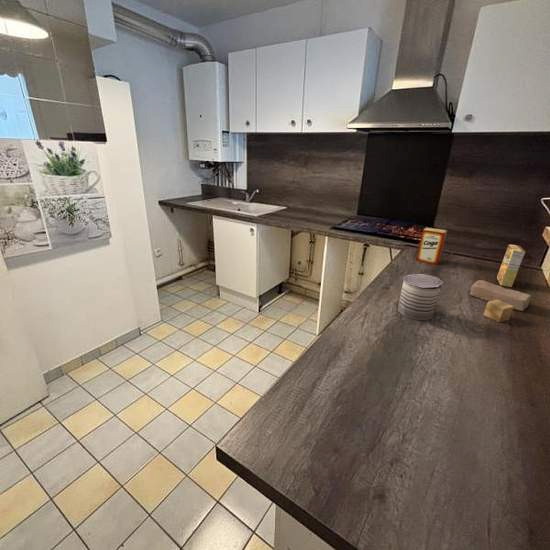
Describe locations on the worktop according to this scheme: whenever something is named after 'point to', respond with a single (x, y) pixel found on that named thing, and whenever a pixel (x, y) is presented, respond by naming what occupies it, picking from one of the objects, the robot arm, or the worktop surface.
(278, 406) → the worktop surface
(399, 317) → the worktop surface
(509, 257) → the candy box
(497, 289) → the brick
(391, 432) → the worktop surface
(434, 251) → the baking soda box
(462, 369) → the worktop surface
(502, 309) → the beech block
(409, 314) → the can
